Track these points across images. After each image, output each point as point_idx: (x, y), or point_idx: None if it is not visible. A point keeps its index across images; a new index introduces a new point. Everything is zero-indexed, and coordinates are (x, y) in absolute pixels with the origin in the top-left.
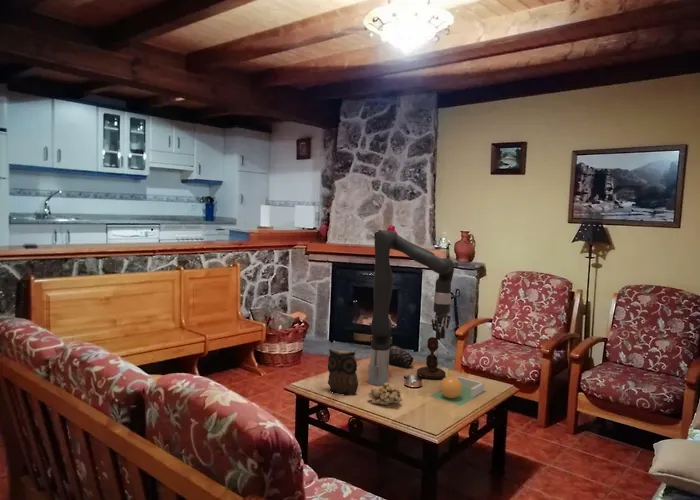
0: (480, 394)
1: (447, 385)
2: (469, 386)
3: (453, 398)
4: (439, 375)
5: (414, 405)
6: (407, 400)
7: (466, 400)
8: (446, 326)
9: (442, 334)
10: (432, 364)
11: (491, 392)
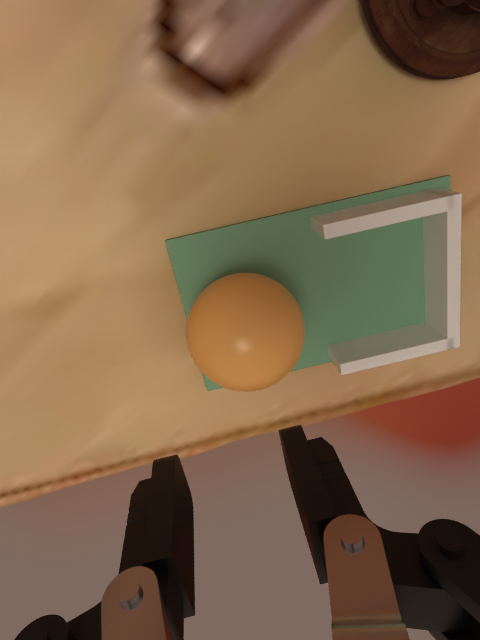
0: None
1: (195, 361)
2: (429, 271)
3: None
4: (433, 69)
5: (12, 285)
6: (17, 217)
7: None
8: (437, 635)
9: (298, 501)
10: (448, 2)
11: None
